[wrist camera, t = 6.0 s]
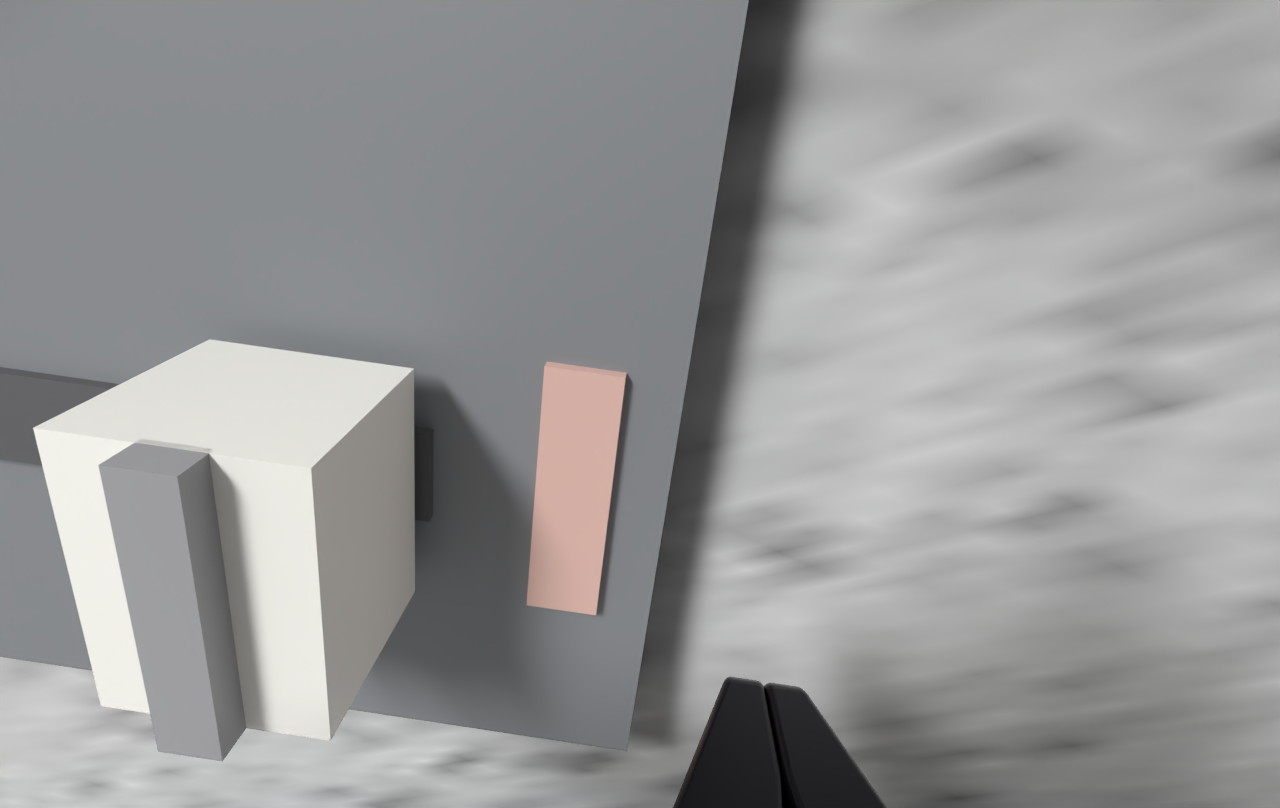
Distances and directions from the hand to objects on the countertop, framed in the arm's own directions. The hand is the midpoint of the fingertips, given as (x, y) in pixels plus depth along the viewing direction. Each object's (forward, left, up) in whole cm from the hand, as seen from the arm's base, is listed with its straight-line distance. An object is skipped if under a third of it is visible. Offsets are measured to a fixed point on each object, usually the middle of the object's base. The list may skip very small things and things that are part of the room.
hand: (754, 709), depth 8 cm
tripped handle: (+7, 0, -3) cm, 7 cm away
